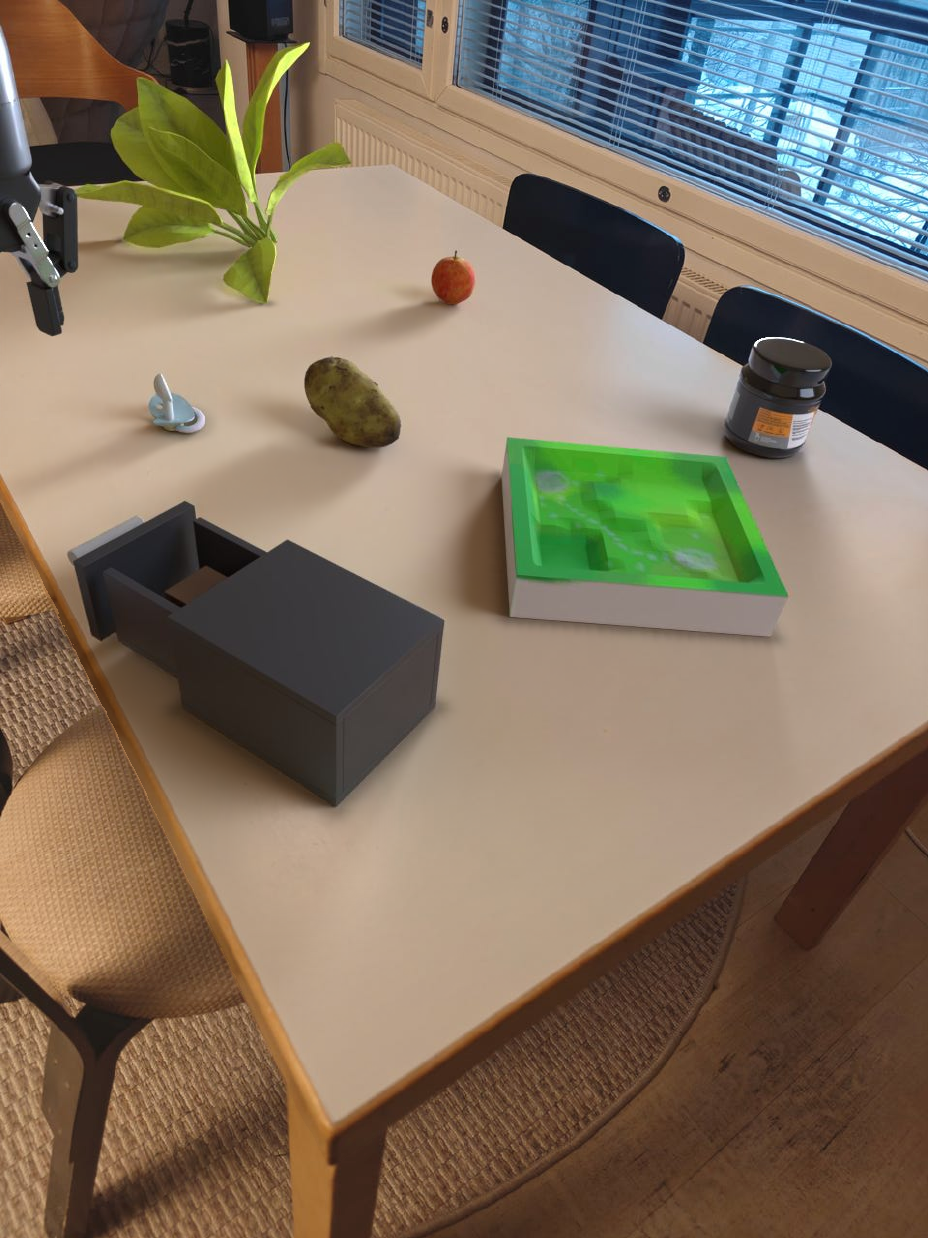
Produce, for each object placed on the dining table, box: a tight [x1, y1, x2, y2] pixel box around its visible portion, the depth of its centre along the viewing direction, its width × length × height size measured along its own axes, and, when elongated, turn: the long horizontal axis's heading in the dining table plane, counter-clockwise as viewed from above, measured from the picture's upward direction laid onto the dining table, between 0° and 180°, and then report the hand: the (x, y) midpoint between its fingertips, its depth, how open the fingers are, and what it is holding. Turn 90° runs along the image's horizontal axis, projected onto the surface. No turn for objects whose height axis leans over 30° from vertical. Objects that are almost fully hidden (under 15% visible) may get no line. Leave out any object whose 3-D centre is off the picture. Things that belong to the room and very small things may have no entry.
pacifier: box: [148, 373, 206, 434], centre depth 99 cm, size 7×6×6 cm
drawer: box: [66, 500, 268, 679], centre depth 71 cm, size 19×11×8 cm, turn 57°
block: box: [164, 566, 228, 608], centre depth 70 cm, size 4×4×4 cm
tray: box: [501, 436, 789, 638], centre depth 89 cm, size 25×25×5 cm
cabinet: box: [168, 539, 446, 808], centre depth 66 cm, size 16×13×10 cm
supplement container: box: [722, 337, 833, 459], centre depth 108 cm, size 10×10×12 cm
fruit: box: [430, 250, 476, 306], centre depth 136 cm, size 7×7×8 cm
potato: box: [303, 355, 402, 448], centre depth 101 cm, size 8×13×8 cm, turn 34°
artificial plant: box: [73, 42, 352, 305], centre depth 133 cm, size 42×43×30 cm
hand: (16, 342), depth 66 cm, fingers open, 5 cm apart
